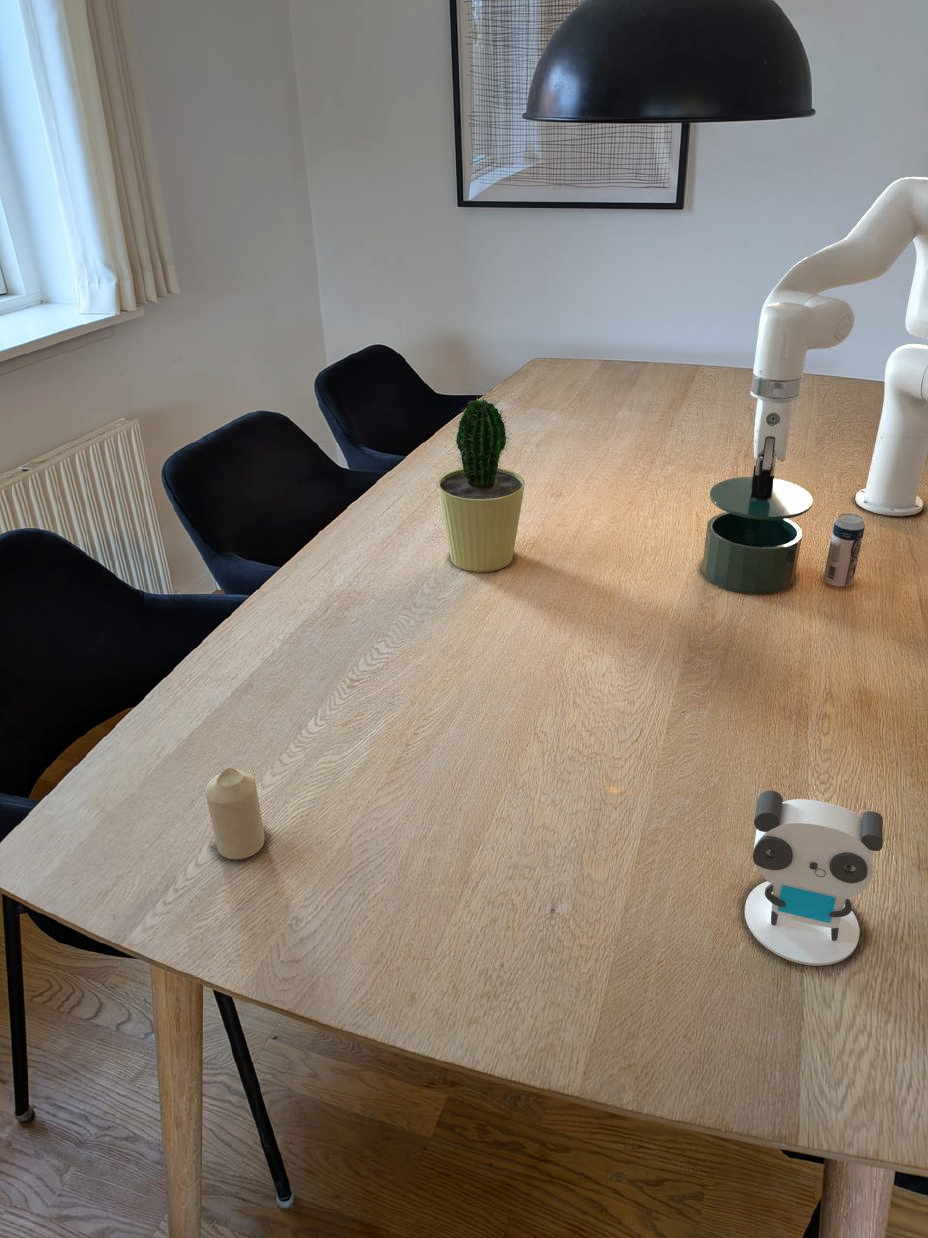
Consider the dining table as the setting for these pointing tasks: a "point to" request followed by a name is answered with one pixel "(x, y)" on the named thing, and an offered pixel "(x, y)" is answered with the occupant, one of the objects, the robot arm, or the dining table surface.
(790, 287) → the robot arm
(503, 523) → the potted cactus
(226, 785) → the candle
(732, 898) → the dining table surface
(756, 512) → the lid
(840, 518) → the beer can
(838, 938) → the panda figurine
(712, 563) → the pot
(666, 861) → the dining table surface
